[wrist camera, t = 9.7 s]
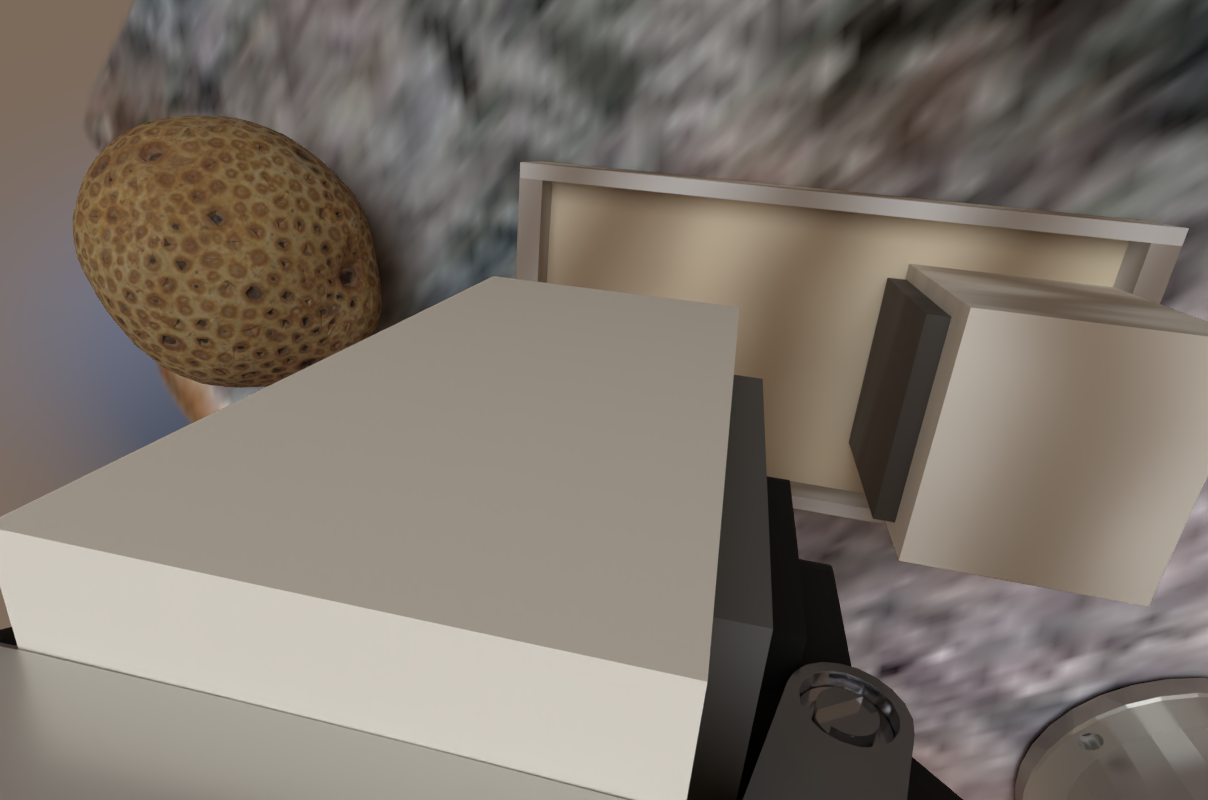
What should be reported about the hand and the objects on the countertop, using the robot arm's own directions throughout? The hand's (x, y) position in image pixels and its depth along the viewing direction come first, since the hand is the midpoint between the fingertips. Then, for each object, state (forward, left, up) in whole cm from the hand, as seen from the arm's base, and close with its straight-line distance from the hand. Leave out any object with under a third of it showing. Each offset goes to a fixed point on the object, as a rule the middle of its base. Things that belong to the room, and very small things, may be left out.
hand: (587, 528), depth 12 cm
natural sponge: (+1, +15, -16) cm, 22 cm away
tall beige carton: (0, 0, -2) cm, 2 cm away
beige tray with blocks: (0, -4, -16) cm, 16 cm away
